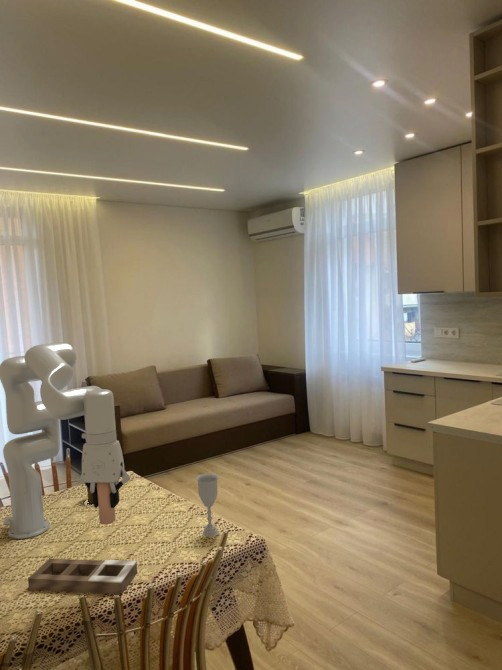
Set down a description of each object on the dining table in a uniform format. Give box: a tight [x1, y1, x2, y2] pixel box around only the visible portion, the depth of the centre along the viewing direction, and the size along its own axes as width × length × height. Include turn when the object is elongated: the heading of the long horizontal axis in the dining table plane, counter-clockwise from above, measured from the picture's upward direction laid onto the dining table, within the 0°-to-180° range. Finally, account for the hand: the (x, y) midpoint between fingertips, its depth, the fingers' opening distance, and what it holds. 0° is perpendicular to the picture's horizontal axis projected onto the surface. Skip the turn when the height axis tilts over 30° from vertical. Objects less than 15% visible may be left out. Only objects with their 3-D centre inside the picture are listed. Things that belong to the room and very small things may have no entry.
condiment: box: [79, 486, 94, 508], centre depth 186 cm, size 7×8×12 cm
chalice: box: [195, 473, 219, 538], centre depth 156 cm, size 7×7×18 cm
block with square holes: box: [27, 558, 138, 595], centre depth 133 cm, size 26×10×3 cm, turn 81°
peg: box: [97, 483, 116, 525], centre depth 130 cm, size 4×4×12 cm
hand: (106, 505), depth 130 cm, fingers closed on peg, 4 cm apart
